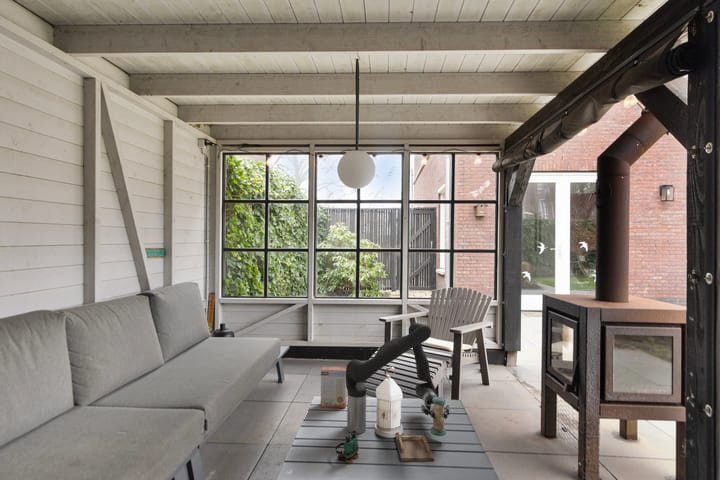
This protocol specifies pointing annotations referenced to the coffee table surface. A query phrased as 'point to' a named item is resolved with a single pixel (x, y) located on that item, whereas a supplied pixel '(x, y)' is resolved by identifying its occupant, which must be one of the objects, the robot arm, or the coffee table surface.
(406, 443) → the brown wooden tray
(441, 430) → the bobbin
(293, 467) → the coffee table surface
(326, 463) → the coffee table surface
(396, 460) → the coffee table surface
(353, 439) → the binoculars
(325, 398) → the cracker box
